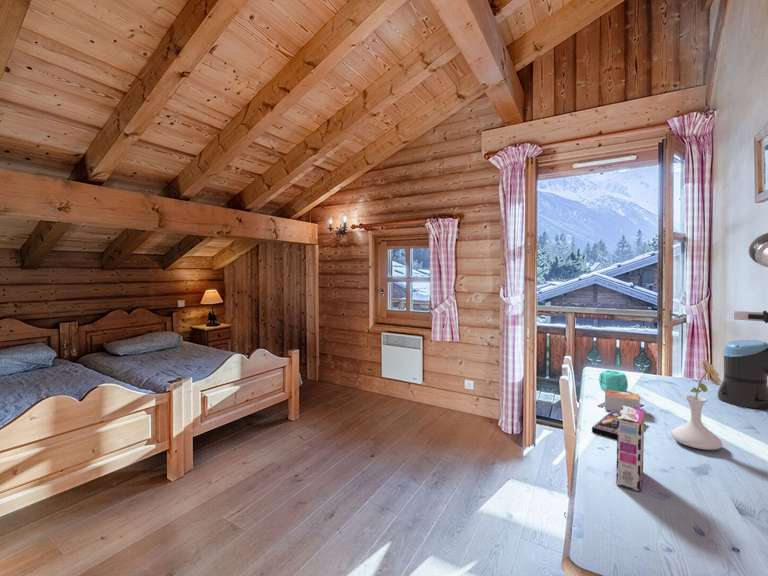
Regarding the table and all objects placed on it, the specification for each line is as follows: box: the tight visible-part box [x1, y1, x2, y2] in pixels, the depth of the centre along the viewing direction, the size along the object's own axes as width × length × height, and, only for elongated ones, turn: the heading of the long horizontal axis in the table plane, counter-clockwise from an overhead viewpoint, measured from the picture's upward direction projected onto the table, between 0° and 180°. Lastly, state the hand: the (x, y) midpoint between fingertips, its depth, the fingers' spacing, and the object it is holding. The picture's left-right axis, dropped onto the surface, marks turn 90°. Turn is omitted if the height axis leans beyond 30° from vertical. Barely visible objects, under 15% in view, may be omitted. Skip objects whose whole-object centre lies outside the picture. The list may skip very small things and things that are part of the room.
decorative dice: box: [598, 369, 629, 392], centre depth 152 cm, size 8×8×8 cm
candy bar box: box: [615, 406, 645, 493], centre depth 87 cm, size 11×5×16 cm, turn 141°
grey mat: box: [597, 401, 644, 408], centre depth 135 cm, size 14×10×1 cm
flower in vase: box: [670, 358, 724, 451], centre depth 104 cm, size 13×11×25 cm
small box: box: [604, 390, 641, 413], centre depth 131 cm, size 8×6×10 cm
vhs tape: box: [591, 411, 620, 441], centre depth 116 cm, size 10×2×19 cm
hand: (734, 315), depth 116 cm, fingers closed
